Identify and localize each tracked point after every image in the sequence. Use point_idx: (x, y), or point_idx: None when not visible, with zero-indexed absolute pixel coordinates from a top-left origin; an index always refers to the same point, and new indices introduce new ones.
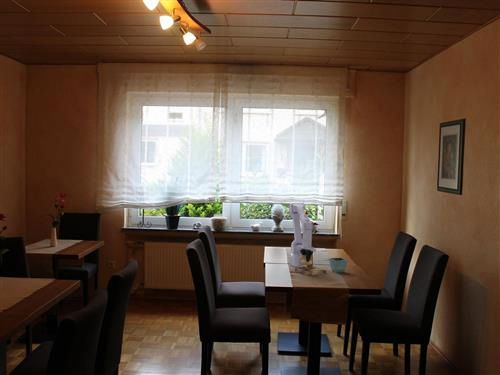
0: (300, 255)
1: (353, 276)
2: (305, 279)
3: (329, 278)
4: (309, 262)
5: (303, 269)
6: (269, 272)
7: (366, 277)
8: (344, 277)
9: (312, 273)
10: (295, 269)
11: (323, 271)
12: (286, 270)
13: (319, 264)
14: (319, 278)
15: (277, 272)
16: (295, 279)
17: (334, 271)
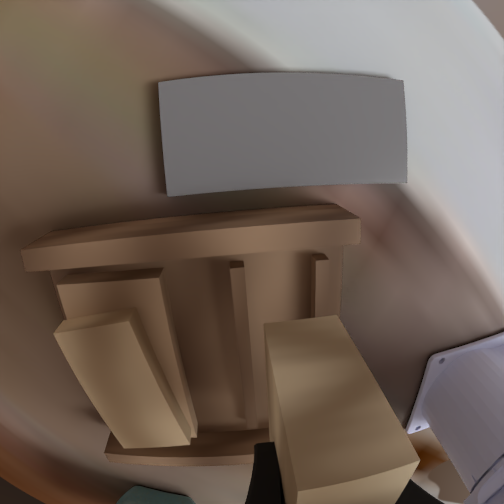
0: (403, 465)
1: (54, 486)
2: (17, 123)
3: (6, 364)
4: None
5: None
6: (474, 7)
7: (34, 496)
8: (32, 449)
9: (59, 294)
10: (344, 217)
11: None
12: (472, 217)
13: None
14: (11, 295)
15: (455, 61)
16: (70, 14)
17: (150, 495)
